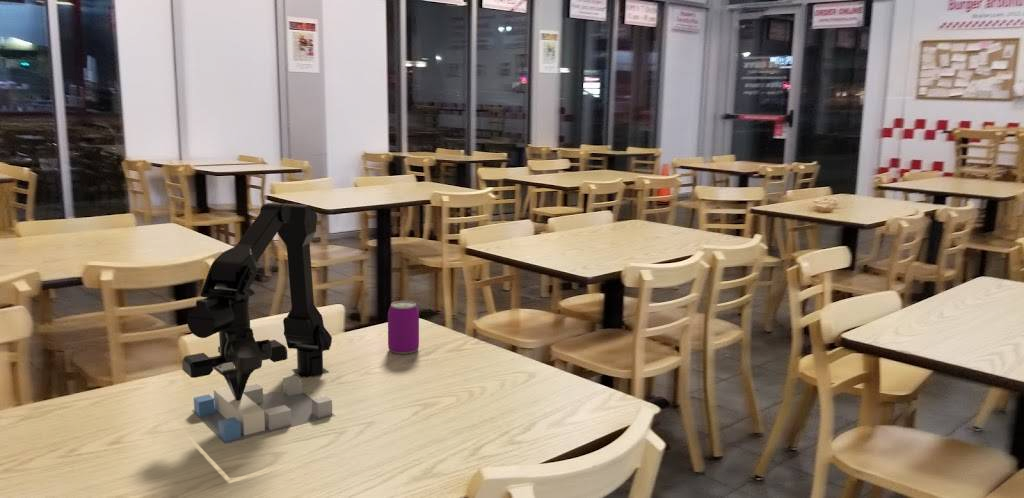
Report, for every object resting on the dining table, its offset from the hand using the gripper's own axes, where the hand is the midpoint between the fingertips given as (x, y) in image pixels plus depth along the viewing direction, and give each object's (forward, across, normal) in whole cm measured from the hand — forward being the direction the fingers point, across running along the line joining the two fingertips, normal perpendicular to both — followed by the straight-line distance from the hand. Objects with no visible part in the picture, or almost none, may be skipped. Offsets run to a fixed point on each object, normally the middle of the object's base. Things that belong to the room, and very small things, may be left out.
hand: (238, 399), depth 160 cm
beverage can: (+5, +49, +19) cm, 53 cm away
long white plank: (+4, 0, 0) cm, 4 cm away
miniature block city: (+4, +5, 0) cm, 7 cm away
